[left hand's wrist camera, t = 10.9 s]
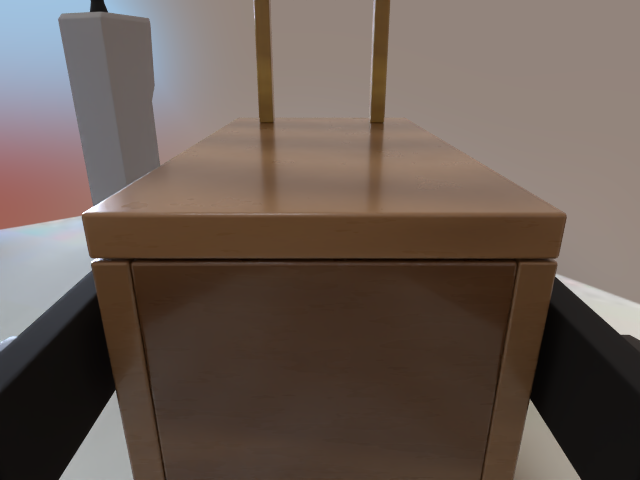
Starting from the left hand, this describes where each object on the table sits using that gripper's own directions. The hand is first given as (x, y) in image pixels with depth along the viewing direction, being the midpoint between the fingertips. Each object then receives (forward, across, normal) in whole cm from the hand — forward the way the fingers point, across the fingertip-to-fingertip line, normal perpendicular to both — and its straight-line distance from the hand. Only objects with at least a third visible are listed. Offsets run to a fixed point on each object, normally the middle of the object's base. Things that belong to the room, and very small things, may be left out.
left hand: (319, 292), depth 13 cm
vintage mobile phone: (+24, -15, -7) cm, 29 cm away
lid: (+5, 0, +3) cm, 6 cm away
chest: (+5, 0, -7) cm, 9 cm away
